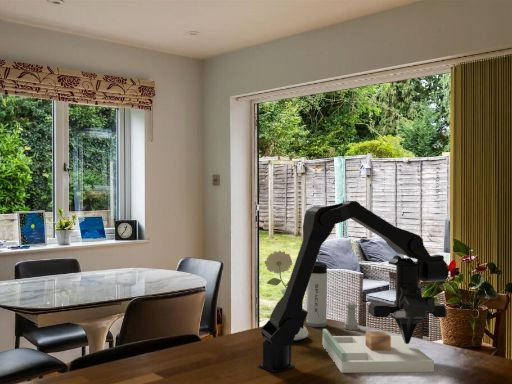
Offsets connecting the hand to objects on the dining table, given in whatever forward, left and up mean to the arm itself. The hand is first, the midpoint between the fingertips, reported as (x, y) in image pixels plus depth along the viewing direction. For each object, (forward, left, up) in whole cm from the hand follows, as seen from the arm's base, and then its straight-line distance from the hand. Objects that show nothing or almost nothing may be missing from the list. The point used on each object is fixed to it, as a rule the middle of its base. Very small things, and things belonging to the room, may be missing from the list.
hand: (406, 343), depth 140 cm
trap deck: (-7, +5, -4) cm, 9 cm away
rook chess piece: (+14, +28, -4) cm, 31 cm away
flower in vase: (-10, +33, -4) cm, 35 cm away
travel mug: (+9, +38, -4) cm, 39 cm away
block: (-6, +5, -1) cm, 8 cm away
